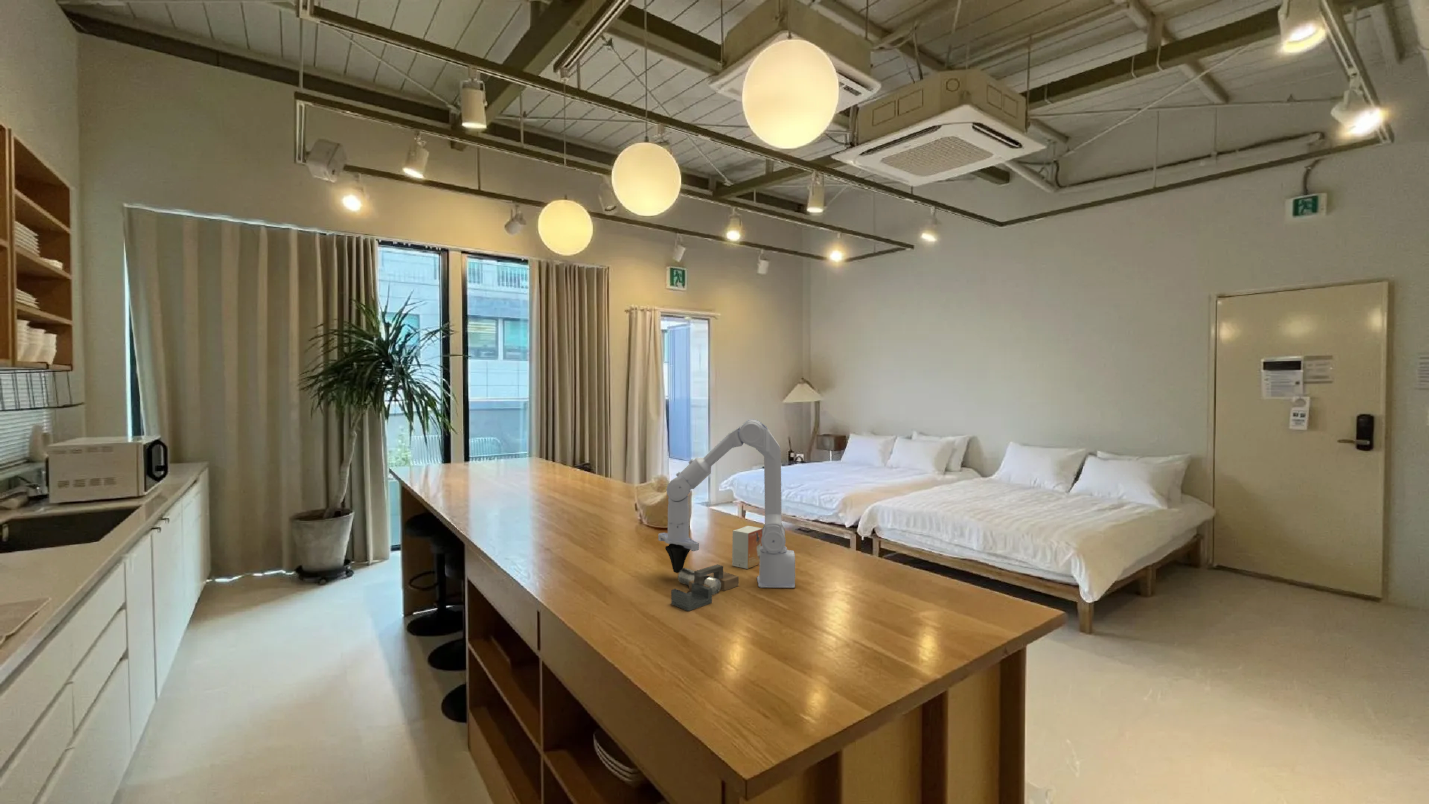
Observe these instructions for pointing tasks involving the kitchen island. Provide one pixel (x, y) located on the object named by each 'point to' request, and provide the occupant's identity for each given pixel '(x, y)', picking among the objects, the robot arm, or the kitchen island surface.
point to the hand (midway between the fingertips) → (677, 571)
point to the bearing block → (724, 577)
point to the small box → (746, 547)
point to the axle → (715, 584)
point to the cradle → (692, 597)
